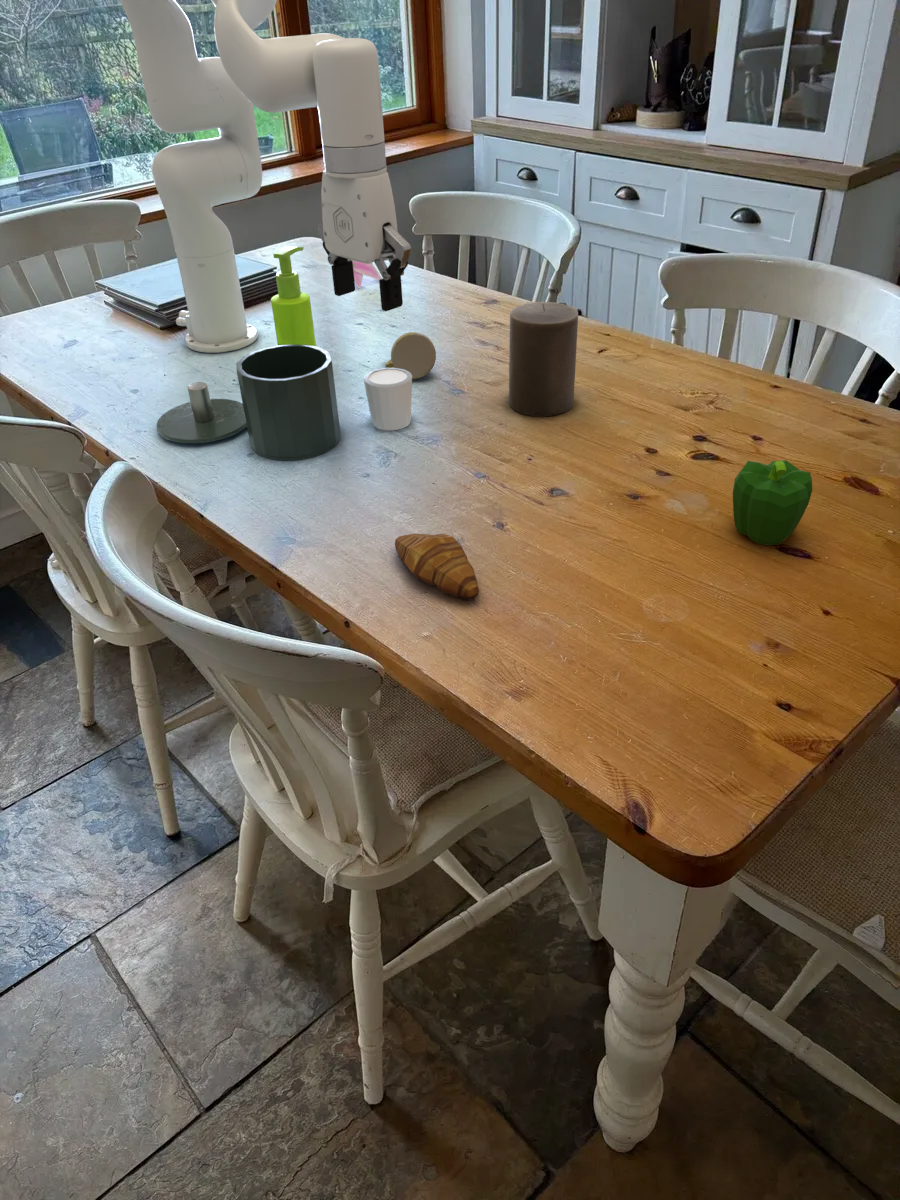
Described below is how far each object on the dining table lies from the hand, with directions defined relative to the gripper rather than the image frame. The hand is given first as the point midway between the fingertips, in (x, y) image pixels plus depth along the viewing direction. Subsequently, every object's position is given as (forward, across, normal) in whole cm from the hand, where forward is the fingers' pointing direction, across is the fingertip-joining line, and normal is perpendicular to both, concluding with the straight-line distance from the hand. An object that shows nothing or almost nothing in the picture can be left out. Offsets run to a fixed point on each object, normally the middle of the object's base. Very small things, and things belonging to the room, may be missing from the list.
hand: (368, 300), depth 116 cm
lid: (+17, -18, -18) cm, 31 cm away
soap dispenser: (+18, -22, +2) cm, 28 cm away
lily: (+17, -54, +40) cm, 69 cm away
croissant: (+18, +34, -21) cm, 44 cm away
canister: (+18, -5, -12) cm, 22 cm away
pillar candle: (+18, +13, +21) cm, 30 cm away
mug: (+18, -11, +16) cm, 26 cm away
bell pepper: (+18, +55, +11) cm, 59 cm away
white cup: (+18, +1, +1) cm, 18 cm away
